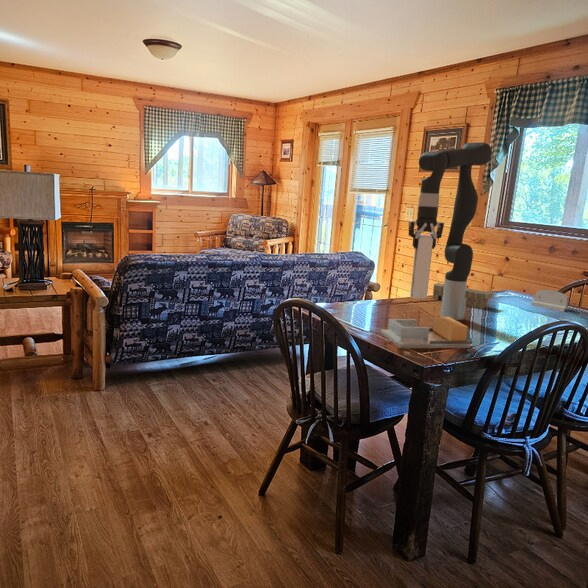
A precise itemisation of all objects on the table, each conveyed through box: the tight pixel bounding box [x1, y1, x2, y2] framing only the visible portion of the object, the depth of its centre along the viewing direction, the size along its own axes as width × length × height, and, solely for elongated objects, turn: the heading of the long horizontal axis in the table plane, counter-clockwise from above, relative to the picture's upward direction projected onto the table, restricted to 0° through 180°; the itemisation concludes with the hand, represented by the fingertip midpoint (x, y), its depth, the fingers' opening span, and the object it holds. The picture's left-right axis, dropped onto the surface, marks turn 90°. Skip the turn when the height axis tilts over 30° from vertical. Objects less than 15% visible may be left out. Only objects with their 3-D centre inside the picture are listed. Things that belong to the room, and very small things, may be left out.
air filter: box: [409, 234, 433, 300], centre depth 198 cm, size 6×6×25 cm
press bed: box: [380, 318, 473, 349], centre depth 185 cm, size 28×18×6 cm, turn 101°
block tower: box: [432, 282, 493, 310], centre depth 256 cm, size 8×8×29 cm
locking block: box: [432, 316, 469, 341], centre depth 187 cm, size 6×14×6 cm, turn 11°
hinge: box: [530, 289, 570, 312], centre depth 258 cm, size 17×5×10 cm, turn 45°
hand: (423, 248), depth 197 cm, fingers closed on air filter, 6 cm apart
